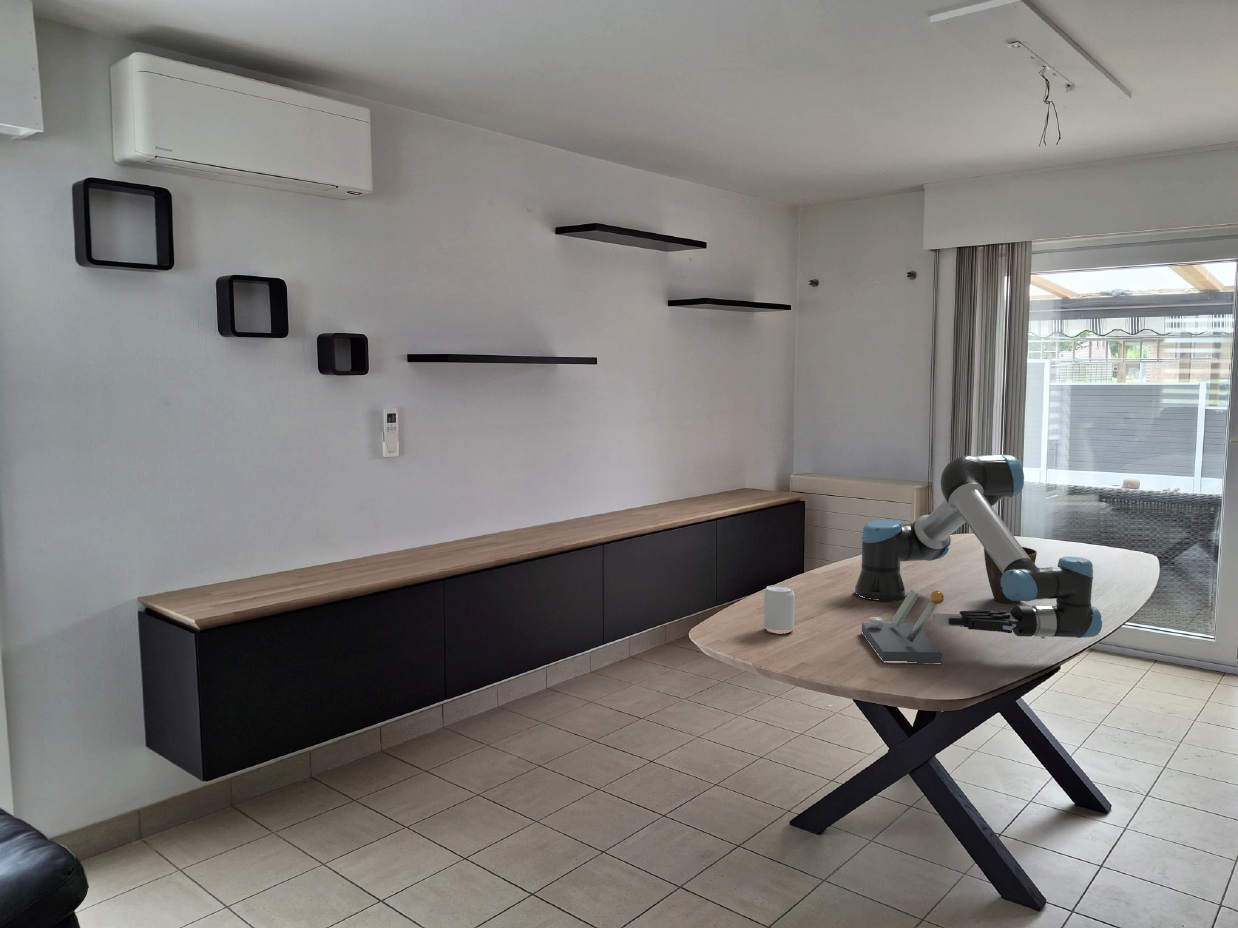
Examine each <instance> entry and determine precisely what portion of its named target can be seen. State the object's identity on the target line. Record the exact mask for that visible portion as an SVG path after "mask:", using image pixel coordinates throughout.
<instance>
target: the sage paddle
mask: <svg viewBox="0 0 1238 928" xmlns="http://www.w3.org/2000/svg"><path fill="white" fill-rule="evenodd" d="M919 597H920V594H919V593H918V592H917V591H915V590H914V588H911V589H910V591H909V592H908V593H907V595H906V596H905V598H904V600H903V601H902V603H901V605H899V608H898V609H897V611H896V612H895V614H894V615H893V617H892V618H891V623H894V624H895V625H896V626H898V627H899V626H900V625H901V623H903V621H904V620H905V618H906V617H907V615H908V613H910V610H911V609H912V607H913V606H914V604H915V603H916V601H917V600H918V598H919Z"/></svg>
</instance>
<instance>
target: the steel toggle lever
mask: <svg viewBox="0 0 1238 928" xmlns="http://www.w3.org/2000/svg"><path fill="white" fill-rule="evenodd" d="M944 595H945V594H944V593H942V592H941V591H939V590H934V591H932V593H931V594H930V596H929V597H930V598H929V599H930V601H929V603H928V604H927V605H926V607H925V608H924V610H923V611H922V613H921V614H920V616H919V617H918V619H917V621H916V622H915V623H914V624H915V625H914V627H913V628H912V630H911V631H910V633H909V635H908V636H907V638H906V639H908V640H909V641H911V642H913V641H914V640H915V638H916V637H917V635H918V633H919V632H920V630H921V631H922V629H923V627H924V625H925V624H926V623H927V621H928V620H929V618H930V616H931V615H932V613H933V612H934V610H935V609H936V607H937V606H938V605H939V604H942V603H943V602H944V600H945V596H944Z"/></svg>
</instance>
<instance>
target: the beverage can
mask: <svg viewBox="0 0 1238 928" xmlns="http://www.w3.org/2000/svg"><path fill="white" fill-rule="evenodd" d="M765 587H766V588H765V590H764V592H763V593H764V594H763V596H764V597H763V627H764V626H765V627H767V628H768V629H773V630H791V629H793V628H795V599H796V598H795V597H796V596H795V592H794V588H793V587H791V586H789V585H783V584H781V585H780V584H774V585H773V584H772V585H768V586H765Z"/></svg>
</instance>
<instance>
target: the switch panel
mask: <svg viewBox="0 0 1238 928" xmlns="http://www.w3.org/2000/svg"><path fill="white" fill-rule="evenodd" d="M915 624H916V623H903V622H902V623H901V625H900V626H899V627H898V626H896V625H895V624H894V623H893V622H886V623H885V622H883V627H871V626H869V622H861V633H862V632H863V634H864V635H865V636H866V638H867V640H868V641H869V642H870V643H871V645H872V646H873V648H874V649H875V650H876V652H877V653H878V654H879V656H880V657H881V658H882V660H883V661H907V662H917V663H942V664H943V652H942V650H940V649H939V648H938V646H936V644H935V643H934V642H933V641H932V640H931V639H930V638H929V637H928V636H927V635H926V634H925V633H924V632H923V630H922V629H921V630H920V632H919V633H918V635H917V637H916V638H915V640H914V641H913V642H911V641H909V640H908V639H906V638H907V636H908V635H909V633H910V631H911V630H912V628H913V627H914V625H915ZM867 640H866V641H867Z"/></svg>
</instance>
